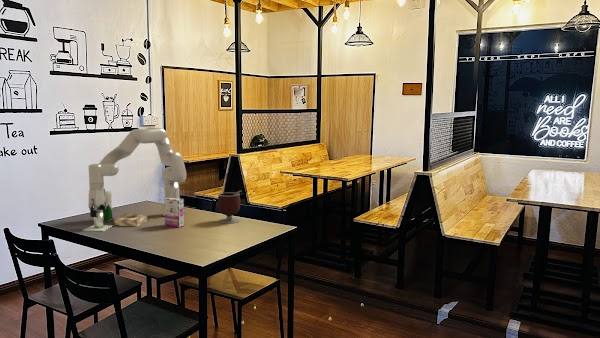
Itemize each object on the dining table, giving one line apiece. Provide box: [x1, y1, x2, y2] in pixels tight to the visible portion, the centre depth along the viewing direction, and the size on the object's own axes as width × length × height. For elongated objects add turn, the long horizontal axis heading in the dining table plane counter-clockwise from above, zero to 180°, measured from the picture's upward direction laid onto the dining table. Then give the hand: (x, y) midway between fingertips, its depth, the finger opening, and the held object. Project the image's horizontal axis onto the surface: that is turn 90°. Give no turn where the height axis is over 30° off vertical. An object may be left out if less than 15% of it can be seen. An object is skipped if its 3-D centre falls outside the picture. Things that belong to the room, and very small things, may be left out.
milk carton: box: [95, 188, 114, 222], centre depth 279 cm, size 9×9×20 cm
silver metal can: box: [93, 209, 105, 228], centre depth 259 cm, size 5×5×10 cm
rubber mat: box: [82, 224, 115, 232], centre depth 259 cm, size 12×12×1 cm
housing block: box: [113, 213, 148, 227], centre depth 272 cm, size 14×14×4 cm
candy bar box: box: [163, 197, 185, 228], centre depth 266 cm, size 11×5×16 cm, turn 62°
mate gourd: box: [217, 190, 242, 225], centre depth 278 cm, size 16×14×20 cm
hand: (98, 215), depth 259 cm, fingers open, 9 cm apart
